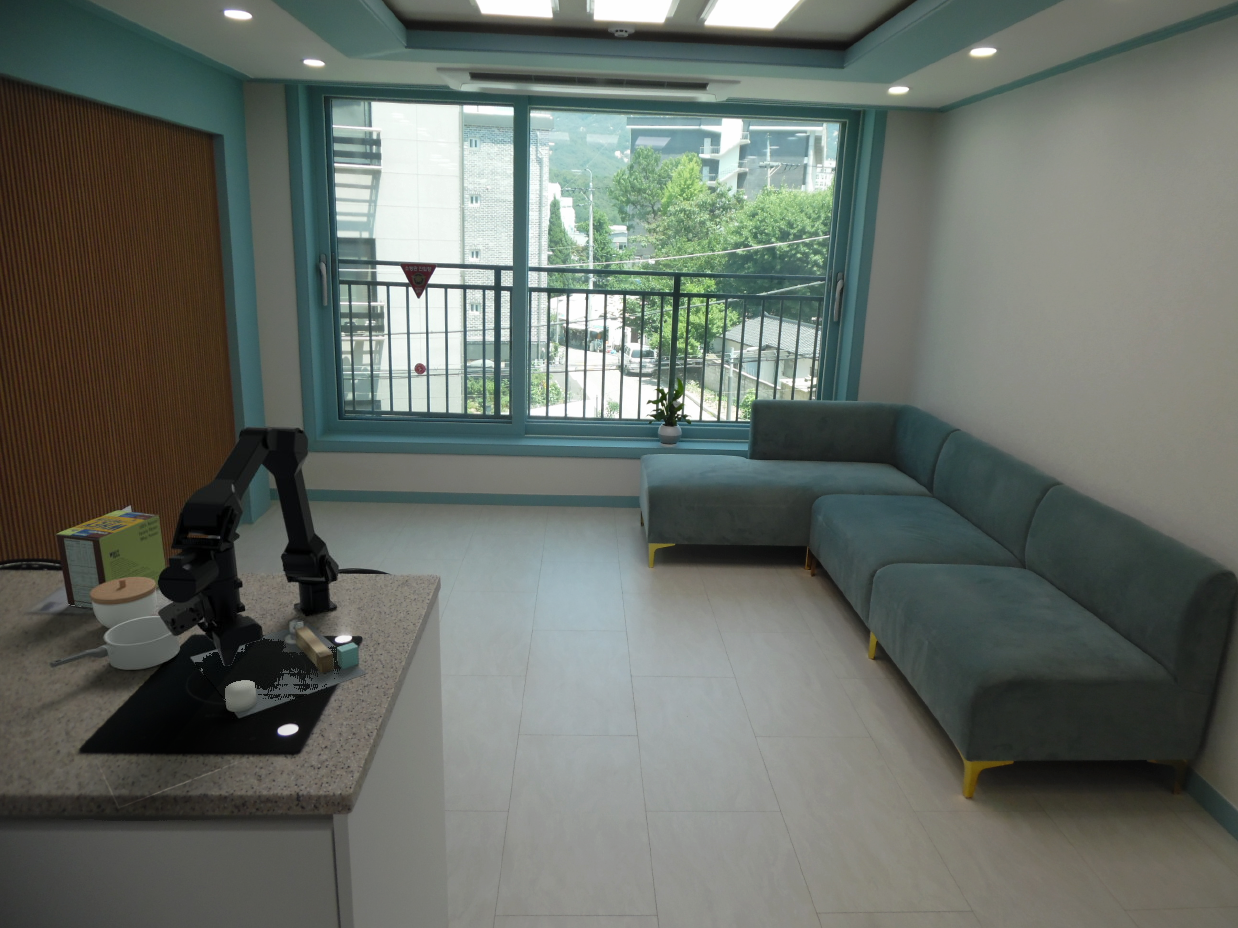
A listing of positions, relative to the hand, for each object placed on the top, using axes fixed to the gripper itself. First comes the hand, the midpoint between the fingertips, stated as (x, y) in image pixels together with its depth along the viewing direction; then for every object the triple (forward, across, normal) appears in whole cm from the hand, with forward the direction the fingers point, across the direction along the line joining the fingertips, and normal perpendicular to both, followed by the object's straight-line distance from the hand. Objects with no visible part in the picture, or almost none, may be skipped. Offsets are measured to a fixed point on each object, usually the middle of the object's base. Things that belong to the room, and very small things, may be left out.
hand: (227, 664), depth 131 cm
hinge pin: (+5, -12, +16) cm, 20 cm away
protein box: (+6, -55, -4) cm, 55 cm away
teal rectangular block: (+5, +4, +18) cm, 19 cm away
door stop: (+5, +5, 0) cm, 7 cm away
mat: (+5, -4, +9) cm, 11 cm away
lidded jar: (+6, -38, -6) cm, 39 cm away
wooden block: (+5, -3, +15) cm, 16 cm away
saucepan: (+6, -20, -11) cm, 24 cm away
